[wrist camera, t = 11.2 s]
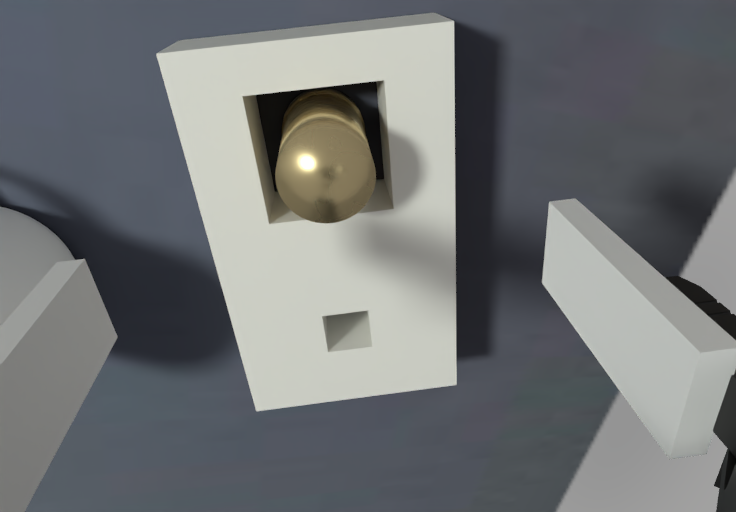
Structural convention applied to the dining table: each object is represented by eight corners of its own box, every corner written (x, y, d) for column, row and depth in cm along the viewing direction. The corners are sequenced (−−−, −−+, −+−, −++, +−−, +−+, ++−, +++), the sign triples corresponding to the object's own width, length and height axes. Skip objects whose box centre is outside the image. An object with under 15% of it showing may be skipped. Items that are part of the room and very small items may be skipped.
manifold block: (442, 342, 34) (456, 384, 31) (262, 365, 34) (256, 411, 30) (434, 12, 24) (453, 21, 21) (179, 40, 24) (156, 53, 20)
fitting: (367, 163, 28) (382, 219, 22) (289, 172, 28) (282, 231, 22) (360, 82, 26) (374, 120, 20) (275, 92, 25) (263, 132, 19)
